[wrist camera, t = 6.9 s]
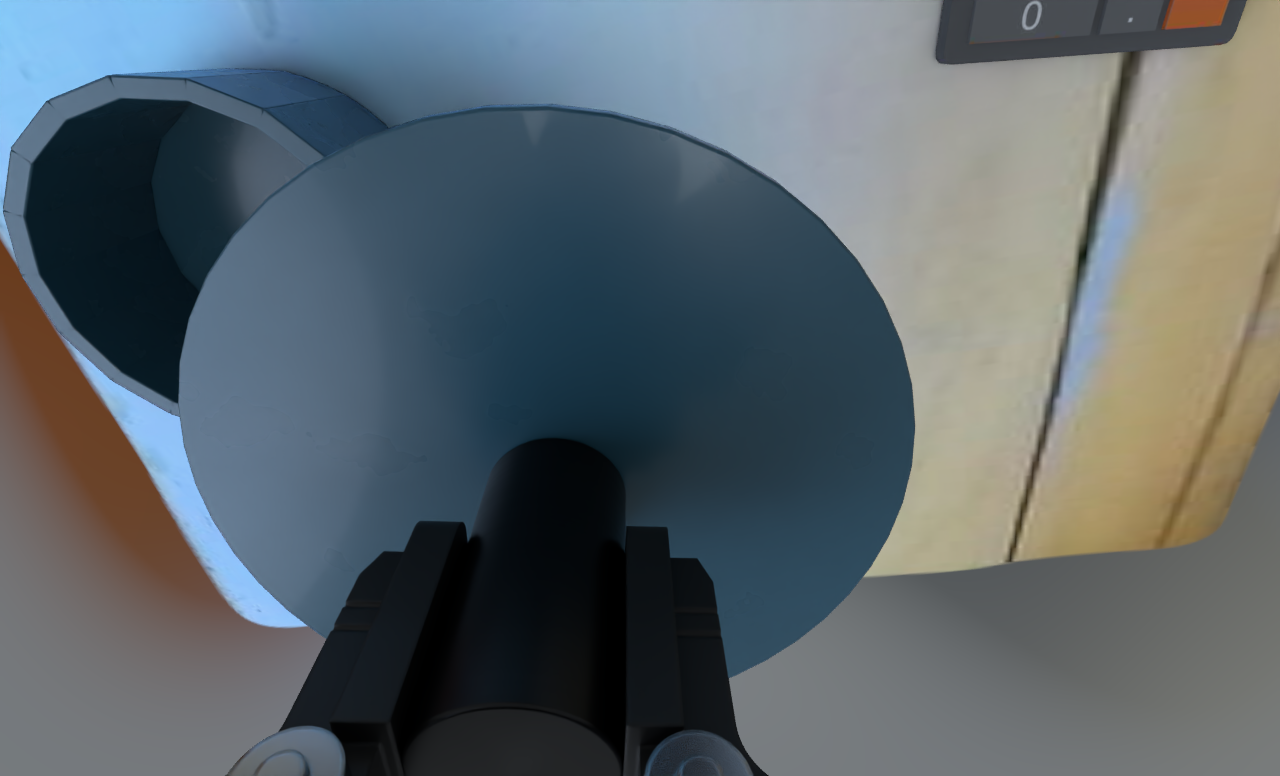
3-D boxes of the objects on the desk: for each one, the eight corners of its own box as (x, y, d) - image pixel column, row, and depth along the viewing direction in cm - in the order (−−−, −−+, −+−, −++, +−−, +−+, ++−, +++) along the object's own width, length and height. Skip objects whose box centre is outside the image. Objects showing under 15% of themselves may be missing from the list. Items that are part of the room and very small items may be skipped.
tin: (93, 61, 25) (-78, 66, 19) (427, 76, 26) (365, 85, 19) (196, 355, 32) (92, 429, 25) (461, 362, 32) (422, 436, 26)
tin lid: (95, 77, 10) (-698, 126, 4) (989, 122, 10) (1461, 223, 4) (301, 669, 17) (128, 998, 11) (822, 676, 17) (920, 994, 11)
